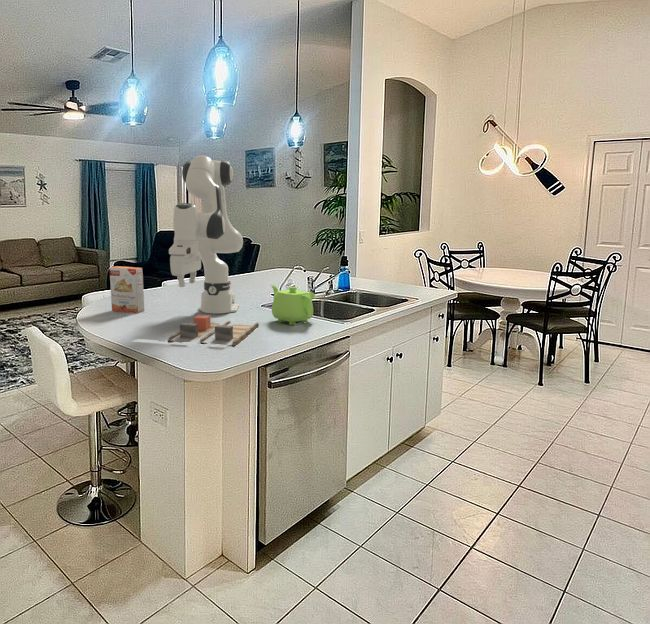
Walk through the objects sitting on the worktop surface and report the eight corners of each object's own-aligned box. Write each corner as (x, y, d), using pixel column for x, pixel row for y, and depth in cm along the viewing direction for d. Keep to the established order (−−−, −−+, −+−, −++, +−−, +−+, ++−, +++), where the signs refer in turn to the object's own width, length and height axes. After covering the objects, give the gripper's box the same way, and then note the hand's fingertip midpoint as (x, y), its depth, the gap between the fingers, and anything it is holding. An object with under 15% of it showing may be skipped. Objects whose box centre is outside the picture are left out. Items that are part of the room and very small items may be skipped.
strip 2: (233, 327, 231) (233, 312, 230) (252, 328, 230) (251, 313, 229) (212, 342, 206) (211, 327, 205) (232, 344, 205) (232, 328, 204)
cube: (198, 326, 226) (198, 315, 225) (210, 327, 225) (210, 315, 224) (194, 329, 221) (193, 317, 220) (206, 330, 220) (205, 318, 219)
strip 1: (202, 325, 233) (201, 311, 232) (220, 326, 232) (219, 312, 231) (177, 340, 208) (176, 324, 207) (197, 342, 207) (196, 326, 206)
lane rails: (200, 323, 237) (200, 319, 236) (258, 327, 233) (258, 322, 233) (168, 342, 206) (168, 337, 205) (235, 347, 202) (235, 341, 202)
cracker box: (111, 311, 257) (108, 267, 253) (118, 308, 263) (116, 265, 258) (137, 313, 254) (135, 268, 249) (144, 310, 259) (142, 267, 255)
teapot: (330, 321, 247) (331, 286, 244) (297, 328, 232) (297, 292, 228) (291, 312, 264) (292, 280, 260) (257, 319, 248) (257, 284, 245)
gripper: (189, 245, 213) (190, 280, 216) (166, 250, 193) (167, 288, 196) (204, 246, 212) (205, 281, 215) (183, 250, 192) (184, 289, 195)
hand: (187, 284), depth 205 cm, fingers open, 8 cm apart
